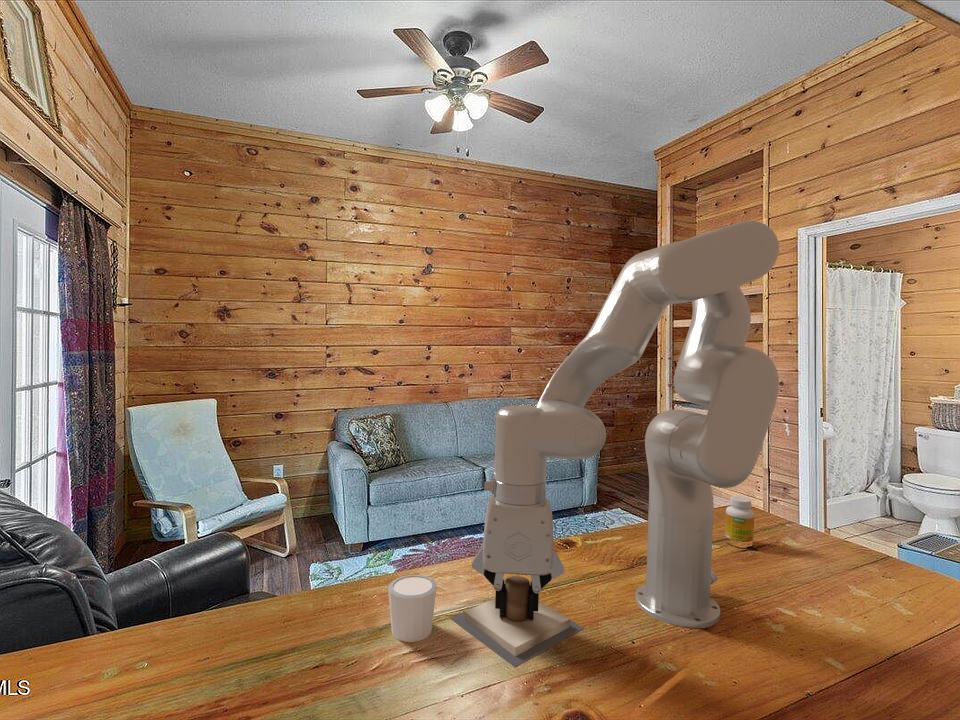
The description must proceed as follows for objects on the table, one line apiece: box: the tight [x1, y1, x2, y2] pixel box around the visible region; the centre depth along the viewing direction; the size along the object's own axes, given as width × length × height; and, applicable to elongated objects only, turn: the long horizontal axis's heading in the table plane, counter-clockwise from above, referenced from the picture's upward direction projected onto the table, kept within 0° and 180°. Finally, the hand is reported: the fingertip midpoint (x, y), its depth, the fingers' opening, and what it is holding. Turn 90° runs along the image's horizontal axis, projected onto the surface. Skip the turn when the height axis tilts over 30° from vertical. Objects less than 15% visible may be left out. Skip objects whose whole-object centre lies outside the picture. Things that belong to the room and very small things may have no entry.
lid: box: [463, 575, 571, 656], centre depth 73 cm, size 11×11×6 cm
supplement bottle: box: [724, 495, 755, 542], centre depth 105 cm, size 5×5×10 cm
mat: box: [449, 612, 585, 668], centre depth 73 cm, size 14×14×1 cm
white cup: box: [387, 574, 437, 643], centre depth 71 cm, size 7×7×7 cm
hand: (516, 612), depth 73 cm, fingers closed on lid, 3 cm apart
